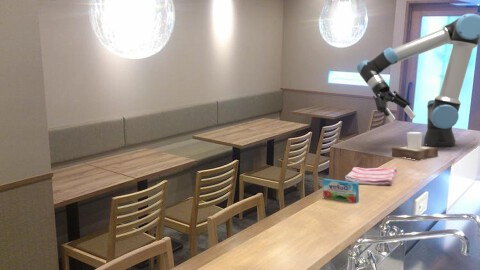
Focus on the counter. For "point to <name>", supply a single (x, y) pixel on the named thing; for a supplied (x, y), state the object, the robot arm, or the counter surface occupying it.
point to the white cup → (414, 140)
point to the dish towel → (372, 176)
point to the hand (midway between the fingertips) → (403, 119)
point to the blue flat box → (341, 190)
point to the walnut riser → (415, 152)
